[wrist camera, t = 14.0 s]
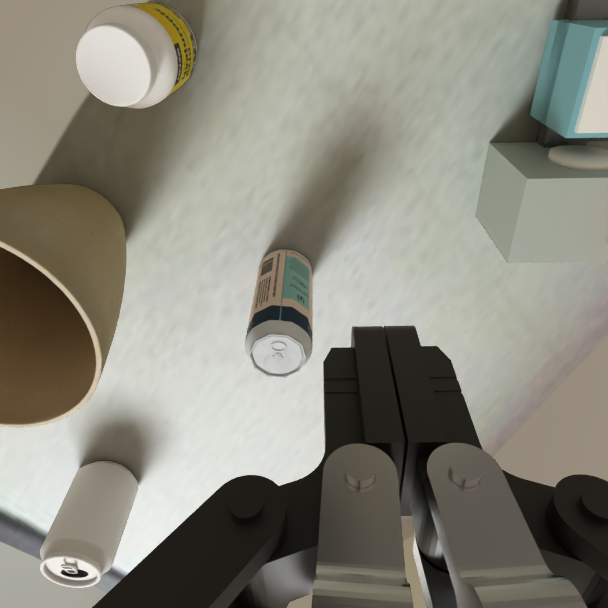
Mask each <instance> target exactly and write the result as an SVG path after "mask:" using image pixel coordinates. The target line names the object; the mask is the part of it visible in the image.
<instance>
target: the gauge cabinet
mask: <svg viewBox="0 0 608 608" xmlns="http://www.w3.org/2000/svg"><path fill="white" fill-rule="evenodd" d="M476 217H477V219H478V220H479V222H480V223H481V225H482V226H483V228H484V229H485V231H486V232H487V234H488V235H489V237H490V238H491V239H492V241H493V242H494V244H495V245H496V247H497V248H498V250H499V251H500V253H501V254H502V256H503V257H504V259H505V260H506V262H507V263H544V262H608V244H607V242H608V141H586V145H585V146H583V145H563V146H557V147H553V148H543V147H542V146H540V145H539V144H538V143H536V142H510V143H489V147H488V153H487V158H486V163H485V169H484V174H483V179H482V185H481V190H480V196H479V201H478V206H477V212H476Z"/></svg>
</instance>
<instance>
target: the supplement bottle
mask: <svg viewBox="0 0 608 608" xmlns="http://www.w3.org/2000/svg"><path fill="white" fill-rule="evenodd" d="M196 61H197V45H196V40H195V37H194V34H193V32H192V30H191V28H190V26H189V24H188V23H187V22H186V20H185V19H184V18H183V17H182V16H181V15H180V14H179V13H178V12H177V11H175V10H174V9H172V8H170V7H168V6H166V5H163V4H160V3H139V4H129V5H120V6H115V7H111V8H108V9H106V10H104V11H102V12H100V13H99V14H97V15H96V16H95V17H94V18H93V19H92V20H91V21H90V23H89V24H88V26H87V28H86V30H85V33H84V35H83V36H82V37H81V39H80V40H79V43H78V45H77V49H76V66H77V70H78V73H79V76H80V77H81V80H82V82H83V83H84V85H85V86H86V88H87V89H88V90H89V91H90V92H91V93H92V94H93V95H94V96H95V97H97V98H98V99H99V100H101V101H103V102H105V103H107V104H110V105H113V106H121V107H122V106H124V107H127V108H133V109H141V108H147V107H150V106H153V105H155V104H157V103H159V102H161V101H162V100H164V99H165V98H166V97H167V96H169V95H170V94H171V93H173V92H174V91H175V90H176V89H178V88H179V87H180V86H182V85H183V84H184V83H185V82H186V81H187V80H188V79H189V77H190V76H191V74H192V73H193V71H194V68H195V65H196Z"/></svg>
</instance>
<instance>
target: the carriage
mask: <svg viewBox="0 0 608 608" xmlns="http://www.w3.org/2000/svg"><path fill="white" fill-rule="evenodd" d="M530 116H532V117H534V118H535V119H537V120H538V121H540V122H541V123H543V124H544V125H546V126H547V127H549V128H551V129H552V130H554V131H555V132H557V133H558V134H560V135H561V136H563V137H565V138H606V137H608V20H579V21H570V20H564V19H560V20H551V23H550V27H549V31H548V36H547V40H546V45H545V49H544V54H543V58H542V63H541V67H540V72H539V76H538V81H537V85H536V89H535V94H534V98H533V103H532V107H531V112H530Z"/></svg>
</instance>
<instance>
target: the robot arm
mask: <svg viewBox="0 0 608 608" xmlns="http://www.w3.org/2000/svg"><path fill="white" fill-rule="evenodd" d="M323 363H324V429H325V454H324V457H323V459H322V461H321V463H320V464H319V466H318V467H317V468H316V469H315V470H314V471H313V472H312V473H310V474H309V475H307V476H306V477H304V478H302V479H299V480H297V481H294V482H291V483H287V484H284V485H281V486H278V485H277V484H275V483H274V482H273V481H271V480H270V479H268V478H265V477H262V476H257V475H246V476H241V477H237V478H235V479H232V480H230V481H228V482H227V483H225V484H224V485H223V486H221V487H220V488H219V489H218V490H217V491H216V492H215V493H214V494H213V495H212V496H211V497H210V498H208V499H207V500H206V501H205V502H204V503H203V504H202V505H201V506H200V507H199V508H198V509H197V510H196V511H195V512H194V513H192V514H191V515H190V516H189V517H188V518H187V519H186V520H185V521H184V522H183V523H182V524H181V525H180V526H179V527H178V528H177V529H175V530H174V531H173V532H172V533H171V534H170V535H169V536H168V537H167V538H166V539H165V540H164V541H163V542H162V543H161V544H159V545H158V546H157V547H156V548H155V549H154V550H153V551H152V552H151V553H150V554H149V555H148V556H147V557H146V558H145V559H143V560H142V561H141V562H140V563H139V564H138V565H137V566H136V567H135V568H134V569H133V570H132V571H131V572H130V573H129V574H128V575H126V576H125V577H124V578H123V579H122V580H121V581H120V582H119V583H118V584H117V585H116V586H115V587H114V588H113V589H112V590H110V591H109V592H108V593H107V594H106V595H105V596H104V597H103V598H102V599H101V600H100V601H99V602H98V603H97V604H96V605H95V606H93V607H92V608H286V607H287V606H288V604H289V602H291V601H293V600H296V599H298V598H301V597H304V596H306V595H309V594H312V593H313V595H312V608H413V600H412V593H411V588H410V584H409V583H407V580H406V574H405V563H404V550H403V537H402V524H401V516H412V519H413V525H414V530H415V536H414V542H413V553H414V558H415V562H416V566H417V570H418V574H419V578H420V582H421V586H422V590H423V594H424V598H425V602H426V606H427V608H608V482H607V481H605V480H603V479H600V478H597V477H594V476H589V475H571V476H568V477H565V478H563V479H562V480H561V481H560V482H558V484H557V485H556V487H551V486H547V485H543V484H540V483H536V482H532V481H528V480H525V479H522V478H519V477H516V476H514V475H511V474H509V473H507V472H506V471H504V470H502V469H501V468H500V466H499V464H498V463H497V462H496V461H495V459H494V458H492V457H491V456H490V455H489V454H488V453H486V452H485V451H483V449H482V447H481V445H480V442H479V439H478V436H477V434H476V431H475V428H474V425H473V422H472V419H471V416H470V414H469V411H468V408H467V405H466V402H465V399H464V397H463V394H461V388H460V385H459V382H458V380H457V377H456V374H455V371H454V368H453V365H452V362H451V360H450V359H449V358H448V357H447V356H446V355H445V354H444V353H443V352H442V351H441V350H440V349H439V348H438V347H437V346H421V345H420V342H419V338H418V335H417V331H416V328H415V326H384V327H382V326H373V327H352V338H351V348H331V350H330V352H329V353H328V355H327V357H326V359H325V360H324V362H323Z"/></svg>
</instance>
